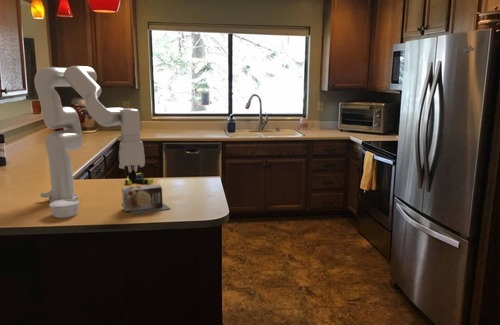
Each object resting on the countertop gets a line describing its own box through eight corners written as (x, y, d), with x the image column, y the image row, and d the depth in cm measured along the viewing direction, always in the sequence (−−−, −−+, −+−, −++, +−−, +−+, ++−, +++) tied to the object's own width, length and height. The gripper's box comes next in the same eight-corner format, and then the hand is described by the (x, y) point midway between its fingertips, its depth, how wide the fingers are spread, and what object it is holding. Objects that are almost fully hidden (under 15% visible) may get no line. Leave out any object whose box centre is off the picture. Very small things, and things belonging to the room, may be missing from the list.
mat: (133, 215, 174) (133, 214, 174) (121, 204, 189) (121, 203, 189) (170, 209, 182) (170, 208, 182) (156, 199, 197) (156, 198, 197)
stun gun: (156, 172, 243) (130, 172, 242) (151, 180, 225) (122, 180, 224) (157, 177, 244) (130, 177, 243) (151, 185, 225) (123, 185, 224)
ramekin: (84, 211, 179) (83, 199, 178) (72, 219, 168) (71, 206, 167) (58, 210, 179) (57, 198, 178) (45, 218, 169) (43, 206, 168)
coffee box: (123, 190, 175) (162, 186, 182) (121, 187, 181) (158, 183, 187) (125, 212, 177) (163, 207, 183) (122, 207, 183) (159, 203, 189)
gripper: (115, 140, 170) (117, 184, 174) (151, 138, 178) (152, 180, 181) (110, 138, 176) (112, 180, 180) (145, 136, 184) (146, 177, 188)
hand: (132, 180), depth 181 cm, fingers closed
